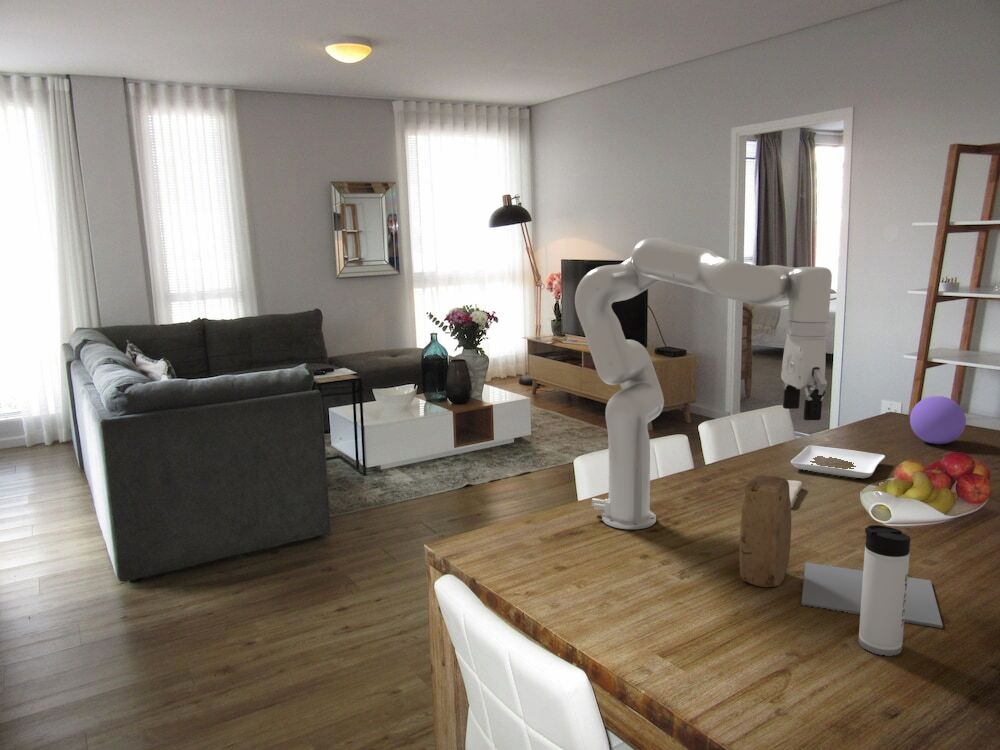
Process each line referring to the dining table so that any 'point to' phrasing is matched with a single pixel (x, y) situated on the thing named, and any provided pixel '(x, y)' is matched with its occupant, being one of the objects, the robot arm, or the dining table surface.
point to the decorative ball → (937, 420)
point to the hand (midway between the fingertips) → (801, 413)
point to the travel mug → (884, 590)
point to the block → (765, 531)
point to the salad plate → (861, 460)
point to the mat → (845, 593)
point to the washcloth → (794, 490)
